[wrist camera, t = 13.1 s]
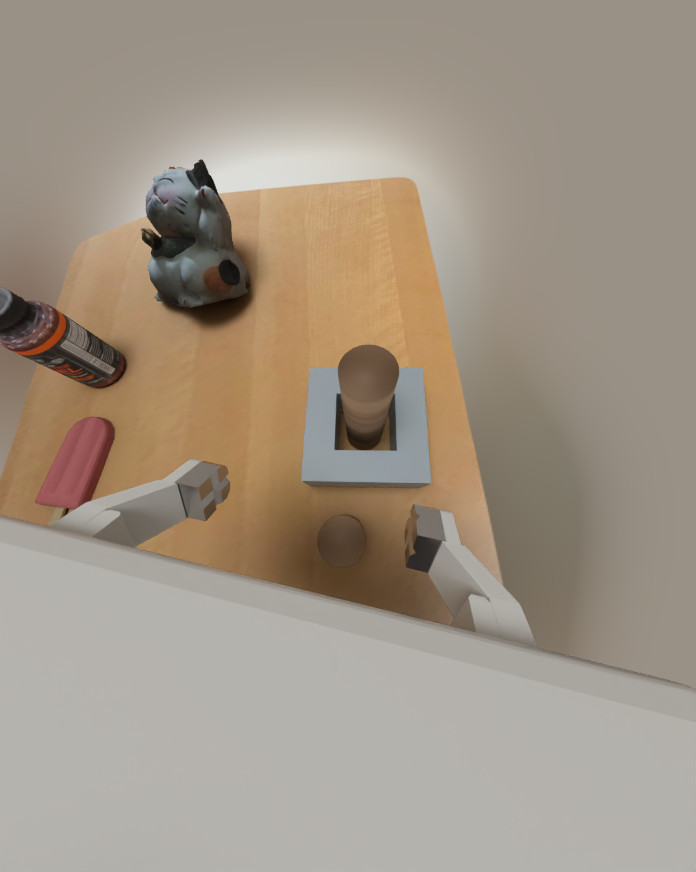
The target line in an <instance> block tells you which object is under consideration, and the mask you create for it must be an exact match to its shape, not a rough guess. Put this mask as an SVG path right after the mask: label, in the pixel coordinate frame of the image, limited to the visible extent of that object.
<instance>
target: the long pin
mask: <svg viewBox="0 0 696 872" xmlns="http://www.w3.org/2000/svg"><path fill="white" fill-rule="evenodd" d="M398 378H399V366H398V363H397V361H396V359H395V357H394V356H393V355H392V354H391V353H390V352H389V351H387V350H386V349H384V348H382V347H379V346H376V345H361V346H358V347H355V348H353V349H351V350H350V351H348V352H347V353H346V354H345V355H344V356H343V357H342V359H341V361H340V363H339V366H338V379H339V385H340V392H341V398H342V405H343V411H344V418H345V424H346V431H347V437H348V440H349V442H350V444H351V445H352V446H353V447H354V448H356V449H358V450H370V449H373V448H374V447H375V446H376V445H377V444H378V443H379V441H380V439H381V435H382V432H383V428H384V425H385V422H386V418H387V415H388V412H389V408H390V405H391V401H392V398H393V395H394V391H395V388H396V385H397V381H398Z"/></svg>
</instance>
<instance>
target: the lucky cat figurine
mask: <svg viewBox="0 0 696 872" xmlns="http://www.w3.org/2000/svg"><path fill="white" fill-rule="evenodd" d="M153 179H154V184H153V186H152V188H151V189H150V191H149V192H148V194H147V196H146V213H147V217H148V219H149V220H150V222H151V223H152V224H153V226H154V227H155V229H156V230H157V231H158V233H159V234H160V235H161V236H162V237H159V236H158V235H156V234H155V233H154V232H153V231H152V230H151V229H149V228H146V229H145V228H143V229H141V232H142V240H143V241H144V242H145V243H146V244H148V245H149V246H150V247H151V248H152V251H151V255H152V258H151V261H150V263H149V265H148V270H149V274H150V280H151V281H152V283H153V284H154V286H155V287H156V289H157V290H158V293H157V294H156V297H154V298H156V299H157V301H164V302H170V303H173V304H175V305H177V306H179V307H190V308H192V307H198V306H203V305H207V304H211V303H214V302H218V301H221V300H225V299H234V298H237V297H240V296H242V295H244V294H246V293H248V287H249V275H248V270H247V268H246V267H245V265H244V264H243V262H242V260H241V258H240V256H239V255H238V254H237V252H236V251H235V249H234V246H233V242H232V232H231V220H230V217H229V213H228V212H227V210H226V207H225V205H224V203H223V201H222V200H221V198H220V197H219V195H218V192H217V190H216V187H215V184H214V181H213V179H212V177H211V176H210V175H209V173H208V171H207V168H206V165H205V163H204V161H203V160H199V161H198V162H197V163H196V164H194V169H192V170H188V169H184V168H182V167H177V168H174V167H170V168H169V169H168V170H165V171H164V172H163V173H162V174H161V175H159V176H156V177H154V178H153Z"/></svg>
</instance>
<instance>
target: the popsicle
mask: <svg viewBox="0 0 696 872" xmlns="http://www.w3.org/2000/svg"><path fill="white" fill-rule="evenodd" d="M113 440H114V427H113V425H112V424H111V422H109V421H107V420H105V419H103V418H100V417H88V418H84V419H82V420H80V421H79V422H77V423H76V424H75V425H74V426H73V427H72V428H71V429H70V431H69V432H68V434H67V436H66V438H65V440H64V442H63V444H62V446H61V448H60V450H59V452H58V454H57V456H56V458H55V460H54V462H53V464H52V466H51V468H50V470H49V473H48V475H47V477H46V479H45V481H44V483H43V485H42V487H41V490H40V492H39V494H38V496H37V498H36V500H35V503H36V504H40V505H48V506H55V510H54V512H53V514H52V516H51V519H50V521H49V523H48V526H50V525H51V524H53V523H55V522H56V521H58V520H59V519H61V518H62V517H64V514H65V512H66V510H67V508H69V509H76V508H78V507H80V506H81V505H83V504H84V503H86V502H89V501H91V498H92V495H93V493H94V490H95V488H96V485H97V483H98V480H99V478H100V475H101V472H102V470H103V467H104V464H105V462H106V459H107V456H108V453H109V451H110V448H111V445H112V443H113Z"/></svg>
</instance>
